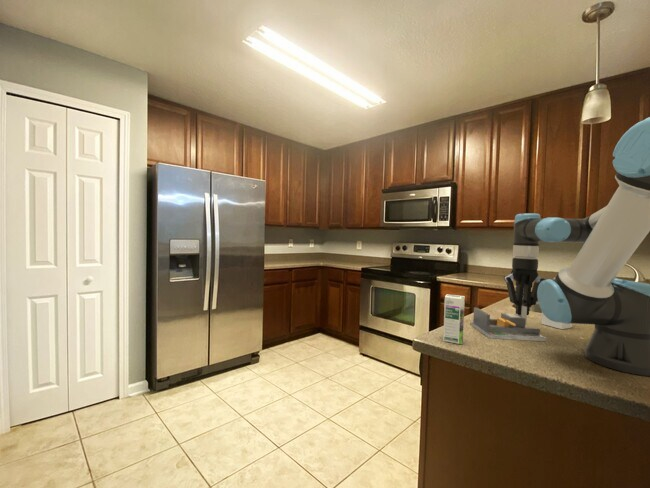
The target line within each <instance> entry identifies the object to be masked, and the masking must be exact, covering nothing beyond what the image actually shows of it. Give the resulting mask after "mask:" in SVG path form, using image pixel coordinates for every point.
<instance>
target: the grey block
mask: <svg viewBox="0 0 650 488" xmlns="http://www.w3.org/2000/svg"><path fill="white" fill-rule="evenodd" d="M500 318H503V319H504V320H508V321H510V322H512V323H514V324H516V326H512V325H510V324H509V327H526V325H525V318H523V317H521V316H519V315H518V314H516V313H503V312H502V313H501V314H500Z"/></svg>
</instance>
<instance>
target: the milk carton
mask: <svg viewBox="0 0 650 488" xmlns="http://www.w3.org/2000/svg"><path fill="white" fill-rule="evenodd" d="M555 278H556V277H553V279H552V280H554V279H555ZM541 325H545V326H548V327H552V328H556V329H558V330H566V329H571V328H573V324H570V323H569V324H565V323H560V322H554V321H551V320H550V319H548V318H547V317H546V316H545V315H544V314H543V312H542V311H541Z"/></svg>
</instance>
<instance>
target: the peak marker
mask: <svg viewBox="0 0 650 488" xmlns="http://www.w3.org/2000/svg"><path fill="white" fill-rule="evenodd" d="M496 319H497V326H506V327H509V324H510V325H512V326H516V324H514V323H512V322H510V321H508V320H504V319H503V318H501V317H496Z"/></svg>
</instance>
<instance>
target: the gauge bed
mask: <svg viewBox="0 0 650 488" xmlns="http://www.w3.org/2000/svg"><path fill="white" fill-rule="evenodd" d="M490 317H491V315H490V314H489V313H488V312H485V311H483V310H482V309H480V308H479V307H473V320H472V321H470V323H469V325H470V326H472V327H473V328H474V329H476V330H477V331H478V332H480V333H481V334H483V336H485V337H487V339H494V340H496V339H497V340H513V341H514V340H517V341H531V342H532V341H533V342H534V341H535V342H546V341H547V337H546V336H544V335H542V334H541V329H540V328H538V327H527V326H525V327H506V326H497V318H490Z"/></svg>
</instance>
